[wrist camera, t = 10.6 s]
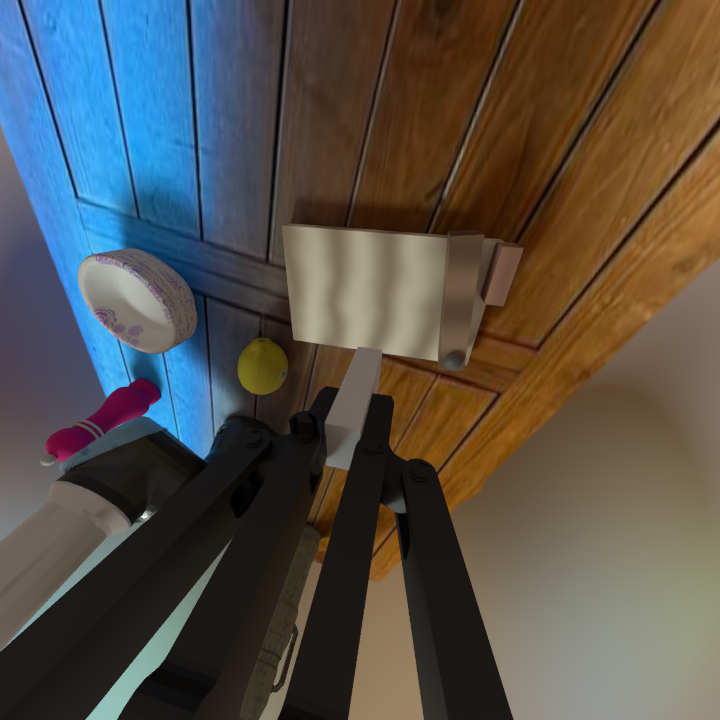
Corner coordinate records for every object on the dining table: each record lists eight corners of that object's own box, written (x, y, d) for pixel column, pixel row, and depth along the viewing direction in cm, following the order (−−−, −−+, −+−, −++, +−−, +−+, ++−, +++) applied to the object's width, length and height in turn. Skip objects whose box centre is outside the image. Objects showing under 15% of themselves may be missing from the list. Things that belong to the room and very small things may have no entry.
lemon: (288, 384, 50) (266, 413, 43) (250, 366, 50) (222, 393, 43) (304, 340, 44) (282, 366, 37) (261, 319, 44) (231, 342, 37)
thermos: (323, 544, 83) (268, 733, 54) (288, 531, 83) (214, 711, 54) (329, 532, 78) (271, 733, 49) (291, 518, 78) (212, 709, 49)
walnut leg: (460, 354, 36) (464, 373, 33) (437, 353, 37) (438, 372, 33) (477, 229, 28) (485, 235, 25) (448, 231, 29) (451, 237, 25)
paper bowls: (127, 305, 48) (80, 323, 42) (126, 224, 40) (66, 230, 33) (204, 348, 50) (170, 371, 43) (218, 278, 41) (179, 294, 35)
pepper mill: (131, 371, 58) (13, 442, 41) (162, 384, 58) (56, 461, 42) (135, 393, 62) (29, 467, 45) (164, 406, 62) (68, 483, 46)
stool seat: (299, 332, 43) (284, 349, 39) (290, 223, 35) (269, 227, 30) (471, 357, 39) (477, 378, 35) (509, 239, 31) (524, 248, 26)
